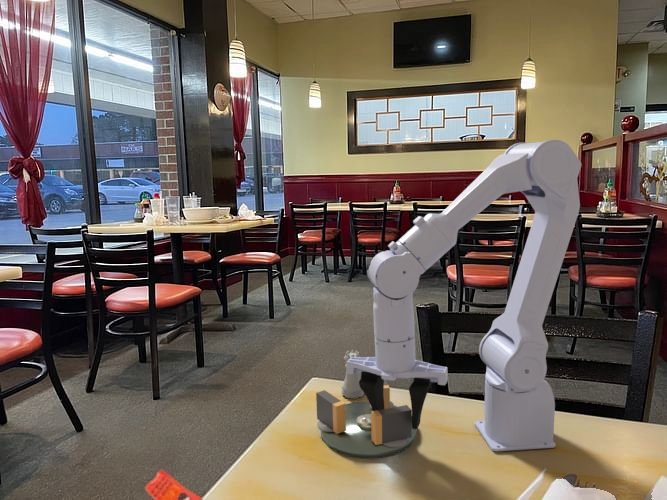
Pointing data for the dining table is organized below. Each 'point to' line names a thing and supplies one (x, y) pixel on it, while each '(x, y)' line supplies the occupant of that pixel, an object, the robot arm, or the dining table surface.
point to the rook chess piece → (352, 380)
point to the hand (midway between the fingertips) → (398, 422)
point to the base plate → (360, 435)
